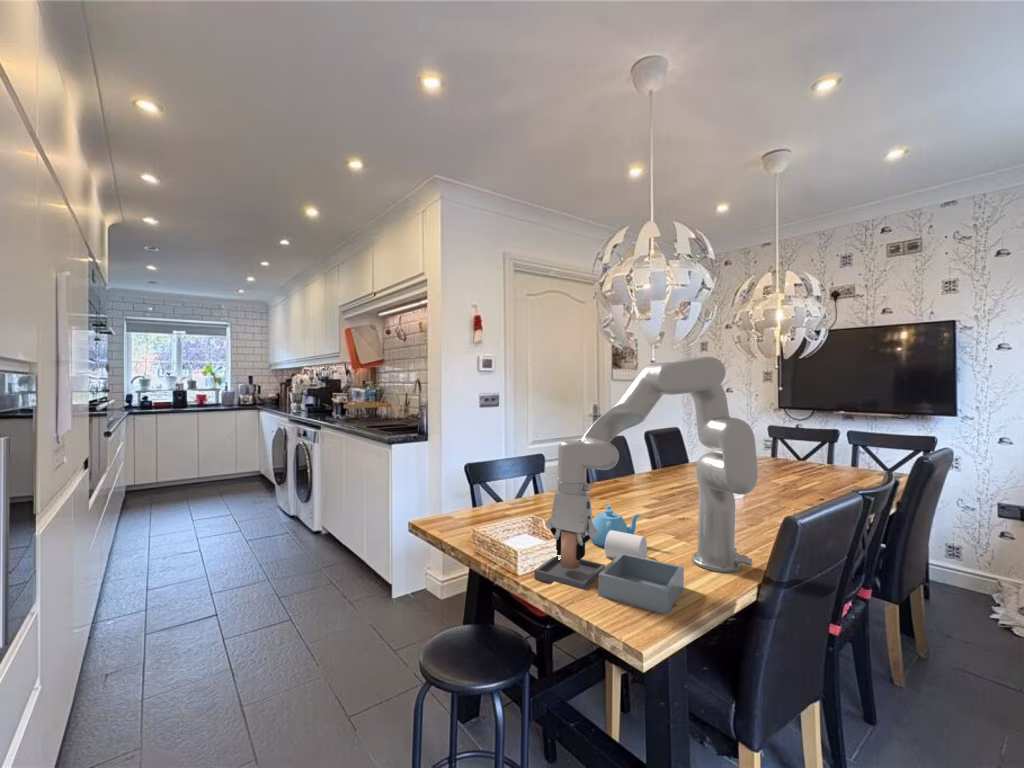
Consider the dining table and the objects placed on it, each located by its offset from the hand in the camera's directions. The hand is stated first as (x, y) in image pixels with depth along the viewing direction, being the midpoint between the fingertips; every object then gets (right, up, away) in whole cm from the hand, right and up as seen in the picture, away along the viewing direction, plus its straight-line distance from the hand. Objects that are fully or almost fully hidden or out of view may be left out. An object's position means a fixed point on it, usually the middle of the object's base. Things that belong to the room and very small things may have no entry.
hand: (570, 555), depth 120 cm
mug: (+18, -6, +12) cm, 23 cm away
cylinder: (0, -3, 0) cm, 3 cm away
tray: (0, -5, 0) cm, 5 cm away
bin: (+16, -6, -10) cm, 20 cm away
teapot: (+16, -6, +27) cm, 32 cm away
